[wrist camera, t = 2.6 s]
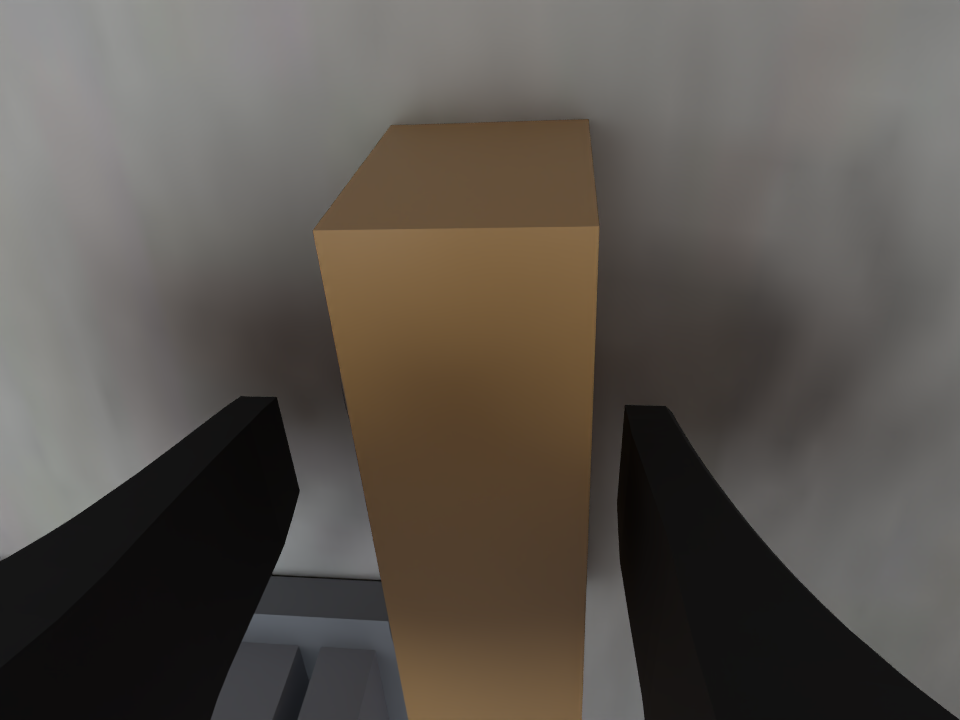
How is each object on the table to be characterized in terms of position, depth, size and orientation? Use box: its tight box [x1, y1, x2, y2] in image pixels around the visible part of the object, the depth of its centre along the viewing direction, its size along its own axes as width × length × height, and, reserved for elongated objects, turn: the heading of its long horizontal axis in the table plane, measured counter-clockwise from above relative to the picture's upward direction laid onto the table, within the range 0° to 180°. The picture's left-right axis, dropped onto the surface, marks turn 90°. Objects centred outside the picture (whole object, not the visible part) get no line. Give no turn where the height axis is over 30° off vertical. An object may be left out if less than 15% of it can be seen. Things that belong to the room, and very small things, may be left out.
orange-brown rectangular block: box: [313, 119, 599, 720], centre depth 11 cm, size 10×3×4 cm, turn 3°
